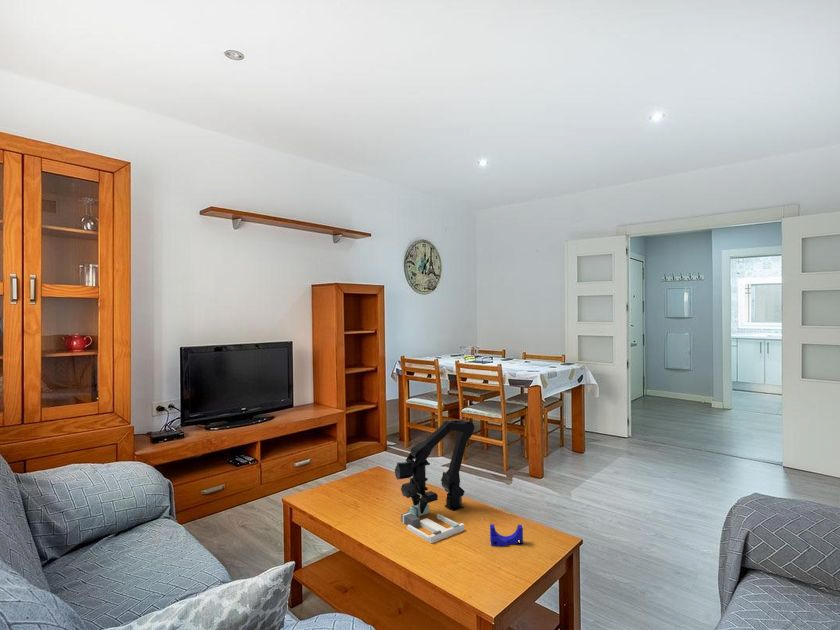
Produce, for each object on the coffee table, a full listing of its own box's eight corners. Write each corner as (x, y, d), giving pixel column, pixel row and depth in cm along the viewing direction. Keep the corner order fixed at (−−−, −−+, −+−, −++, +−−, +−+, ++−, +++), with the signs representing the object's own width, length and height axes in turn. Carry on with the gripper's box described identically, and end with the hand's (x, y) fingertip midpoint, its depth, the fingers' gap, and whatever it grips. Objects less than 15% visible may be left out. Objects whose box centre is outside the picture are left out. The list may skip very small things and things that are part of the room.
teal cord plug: (409, 515, 204) (409, 506, 204) (423, 510, 209) (423, 502, 209) (414, 518, 201) (414, 509, 201) (428, 513, 206) (428, 504, 206)
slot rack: (439, 517, 201) (439, 510, 201) (464, 530, 189) (464, 522, 189) (406, 529, 191) (406, 521, 191) (431, 543, 179) (431, 535, 179)
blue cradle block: (491, 545, 177) (491, 529, 177) (490, 539, 182) (490, 524, 182) (523, 546, 177) (523, 530, 177) (521, 540, 181) (521, 524, 181)
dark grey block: (408, 520, 199) (408, 511, 199) (419, 526, 193) (419, 518, 193) (401, 522, 197) (401, 513, 197) (412, 529, 191) (412, 520, 191)
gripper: (391, 474, 207) (391, 509, 207) (417, 486, 193) (417, 524, 193) (411, 468, 214) (411, 503, 214) (438, 480, 200) (438, 516, 200)
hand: (419, 511), depth 205 cm, fingers closed on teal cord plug, 3 cm apart
